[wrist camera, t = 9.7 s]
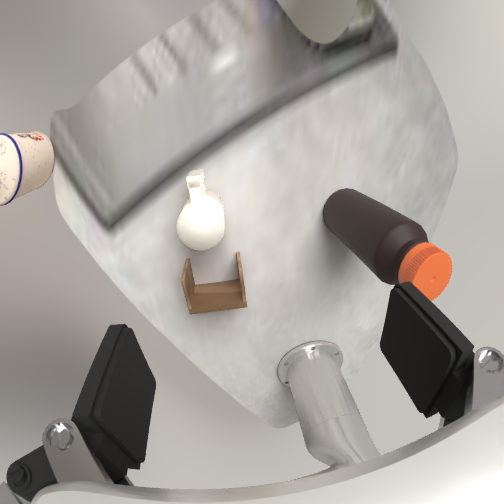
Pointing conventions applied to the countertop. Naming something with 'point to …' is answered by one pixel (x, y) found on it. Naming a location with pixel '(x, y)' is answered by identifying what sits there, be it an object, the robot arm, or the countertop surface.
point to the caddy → (213, 292)
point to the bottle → (387, 242)
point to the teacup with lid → (24, 163)
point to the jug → (201, 215)
